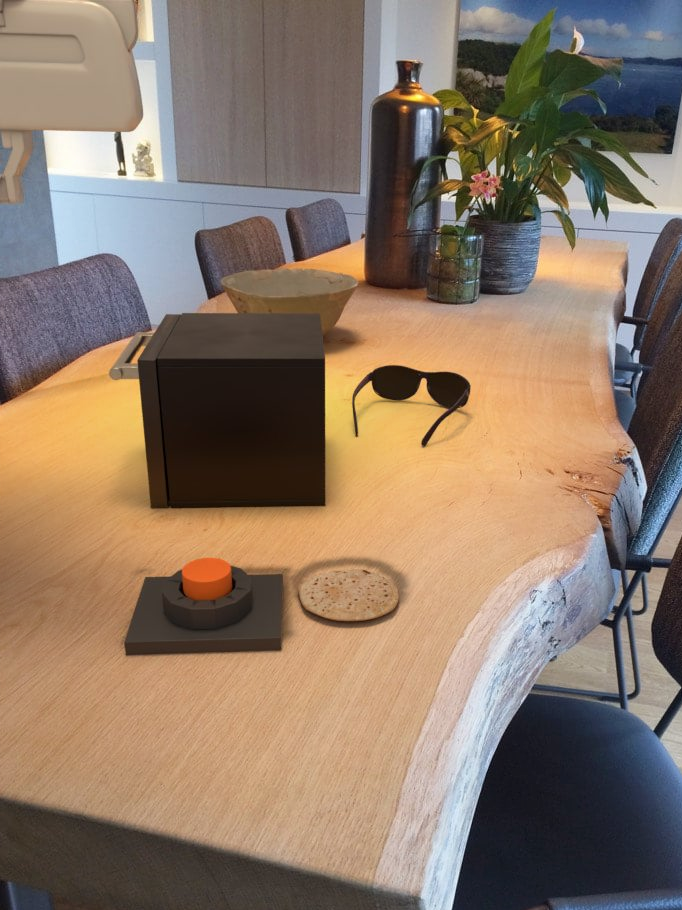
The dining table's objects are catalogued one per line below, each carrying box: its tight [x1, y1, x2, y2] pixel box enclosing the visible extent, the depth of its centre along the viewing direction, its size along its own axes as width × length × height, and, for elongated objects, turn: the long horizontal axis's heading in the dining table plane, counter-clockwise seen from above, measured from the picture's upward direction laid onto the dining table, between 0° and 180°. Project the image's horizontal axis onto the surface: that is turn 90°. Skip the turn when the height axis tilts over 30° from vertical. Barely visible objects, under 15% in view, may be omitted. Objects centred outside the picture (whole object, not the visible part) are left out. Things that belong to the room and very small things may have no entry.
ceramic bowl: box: [220, 268, 359, 337], centre depth 137 cm, size 22×23×10 cm
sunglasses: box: [351, 364, 472, 447], centre depth 103 cm, size 14×16×5 cm
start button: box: [182, 557, 232, 600], centre depth 62 cm, size 4×4×2 cm
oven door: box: [108, 313, 182, 509], centre depth 85 cm, size 5×18×15 cm, turn 5°
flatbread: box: [297, 568, 400, 622], centre depth 66 cm, size 8×8×1 cm
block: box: [123, 565, 284, 656], centre depth 63 cm, size 11×9×3 cm
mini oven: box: [157, 312, 326, 510], centre depth 86 cm, size 15×18×15 cm
